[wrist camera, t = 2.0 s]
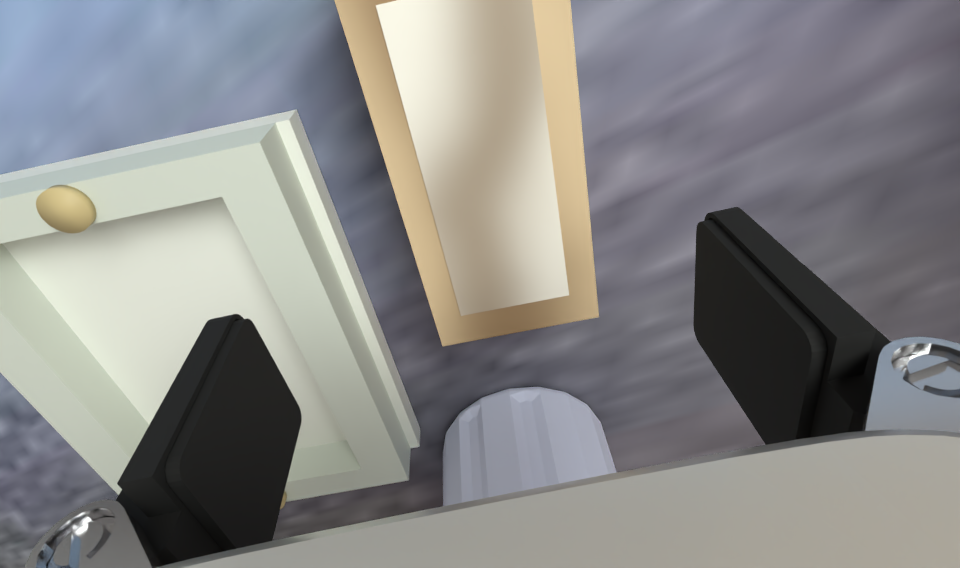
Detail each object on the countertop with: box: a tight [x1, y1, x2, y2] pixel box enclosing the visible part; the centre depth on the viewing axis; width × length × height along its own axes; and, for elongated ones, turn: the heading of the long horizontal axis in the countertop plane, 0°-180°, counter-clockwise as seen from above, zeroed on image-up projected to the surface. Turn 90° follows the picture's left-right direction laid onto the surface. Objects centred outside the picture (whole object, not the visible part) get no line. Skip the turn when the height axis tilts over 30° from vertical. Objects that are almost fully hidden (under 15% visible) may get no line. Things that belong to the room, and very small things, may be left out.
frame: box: [335, 0, 599, 346], centre depth 19 cm, size 6×13×5 cm, turn 11°
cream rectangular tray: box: [0, 109, 420, 509], centre depth 24 cm, size 15×18×4 cm
